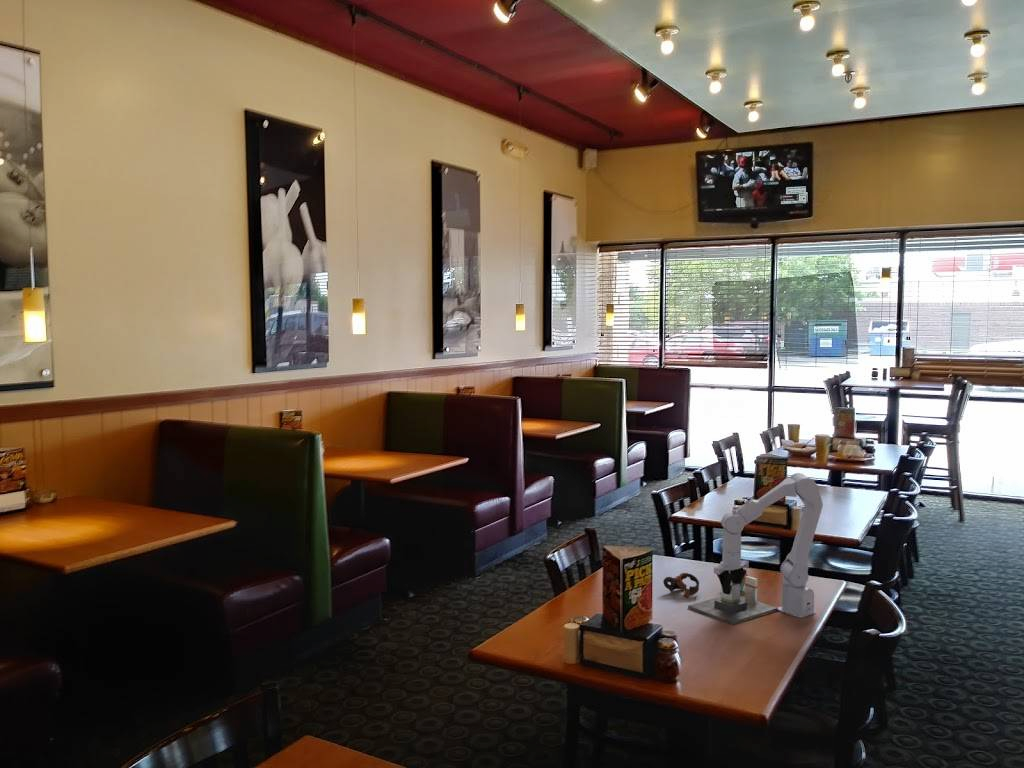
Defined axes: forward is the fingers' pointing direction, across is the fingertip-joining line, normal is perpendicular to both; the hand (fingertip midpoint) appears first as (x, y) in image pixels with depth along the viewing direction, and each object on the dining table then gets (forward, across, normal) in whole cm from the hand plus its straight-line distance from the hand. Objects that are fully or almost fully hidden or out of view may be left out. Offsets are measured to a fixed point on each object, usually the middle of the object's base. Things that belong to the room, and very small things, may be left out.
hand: (731, 592), depth 264 cm
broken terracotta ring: (+6, +1, -21) cm, 22 cm away
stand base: (+6, 0, 0) cm, 6 cm away
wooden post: (+3, 0, 0) cm, 3 cm away
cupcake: (+6, -18, -13) cm, 23 cm away
